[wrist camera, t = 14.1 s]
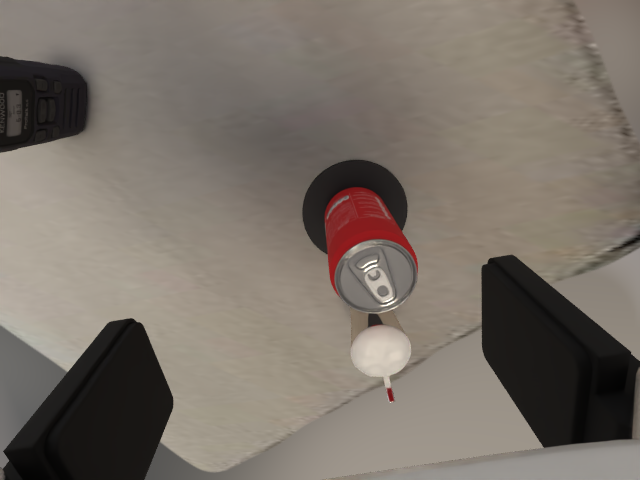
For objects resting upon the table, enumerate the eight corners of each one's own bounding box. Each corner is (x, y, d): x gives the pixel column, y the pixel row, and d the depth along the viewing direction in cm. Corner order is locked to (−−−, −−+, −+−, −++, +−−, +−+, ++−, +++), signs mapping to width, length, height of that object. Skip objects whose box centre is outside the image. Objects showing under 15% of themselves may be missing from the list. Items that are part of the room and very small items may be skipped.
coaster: (312, 266, 35) (312, 268, 35) (293, 170, 32) (293, 171, 31) (410, 250, 35) (411, 252, 34) (401, 151, 31) (402, 151, 31)
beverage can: (368, 172, 31) (399, 219, 20) (394, 224, 33) (435, 293, 22) (313, 202, 32) (313, 262, 21) (341, 251, 34) (355, 330, 23)
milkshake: (349, 328, 38) (361, 407, 28) (338, 281, 36) (348, 349, 26) (395, 319, 37) (422, 397, 28) (387, 271, 35) (413, 337, 26)
